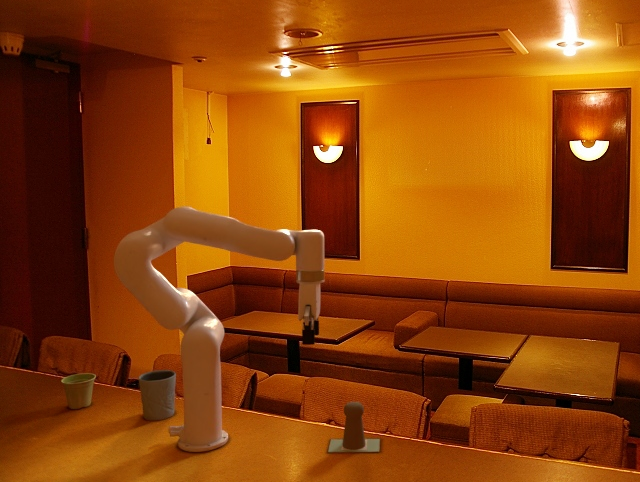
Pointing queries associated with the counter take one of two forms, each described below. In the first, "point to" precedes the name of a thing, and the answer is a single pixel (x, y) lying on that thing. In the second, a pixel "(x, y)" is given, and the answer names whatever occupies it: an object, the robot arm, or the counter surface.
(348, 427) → the brown tall tapered piece
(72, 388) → the plant pot
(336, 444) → the placemat
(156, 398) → the grey cup
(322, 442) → the counter surface
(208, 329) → the robot arm
